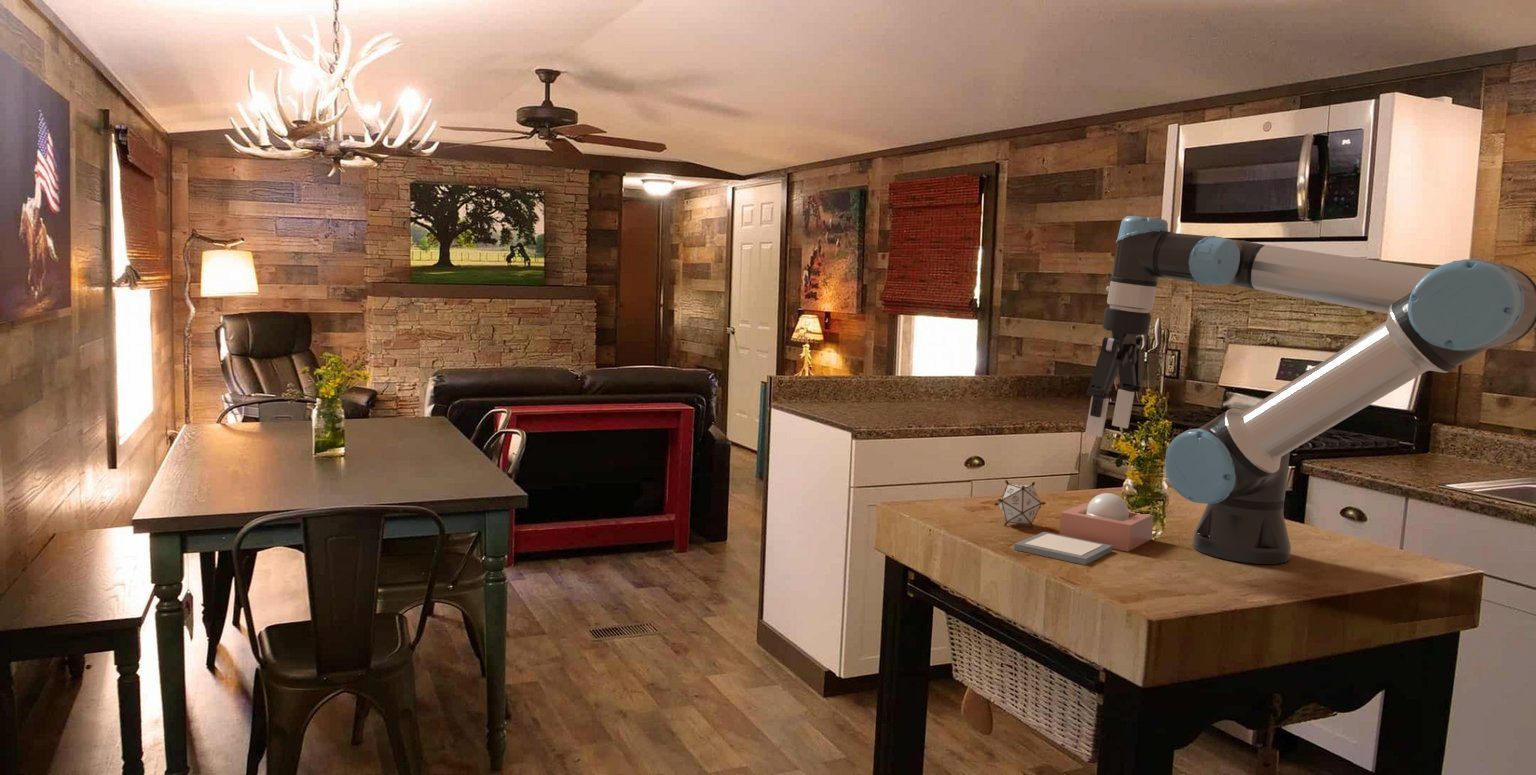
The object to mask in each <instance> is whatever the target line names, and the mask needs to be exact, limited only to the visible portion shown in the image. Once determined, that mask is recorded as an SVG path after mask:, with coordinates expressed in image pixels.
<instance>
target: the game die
mask: <svg viewBox="0 0 1536 775" xmlns="http://www.w3.org/2000/svg"><path fill="white" fill-rule="evenodd" d="M1004 483H1005V484H1006V486H1005V488H1004V490H1003V492H1002V494H1001V497H1000V498H998V499H997V501H998V502H995V503H994V504H993V505H994V506H995V507H997V506H998V507H999V509H1000V511H1001V513H1002V516H1003V518H1004V520H1005V522H1004V523H1003V527H1006V526H1008V524H1019V525H1020V524H1021V525H1022V524H1023V525H1030V528H1032V529H1034V528H1035V525H1034V524H1033V523H1034V520H1035V518H1036V516H1037V514H1038V512H1039V510H1040V509H1041V508H1042V507H1041V506H1042V505H1043V506H1045V505H1046V504H1047V502H1045V501H1041V499H1040V497H1039V495H1038V493H1037V491H1036V489H1035V488H1034V486H1035V485H1036V481H1033V482H1031V484H1020V483H1010V482H1009V481H1008V479H1005V480H1004Z"/></svg>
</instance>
